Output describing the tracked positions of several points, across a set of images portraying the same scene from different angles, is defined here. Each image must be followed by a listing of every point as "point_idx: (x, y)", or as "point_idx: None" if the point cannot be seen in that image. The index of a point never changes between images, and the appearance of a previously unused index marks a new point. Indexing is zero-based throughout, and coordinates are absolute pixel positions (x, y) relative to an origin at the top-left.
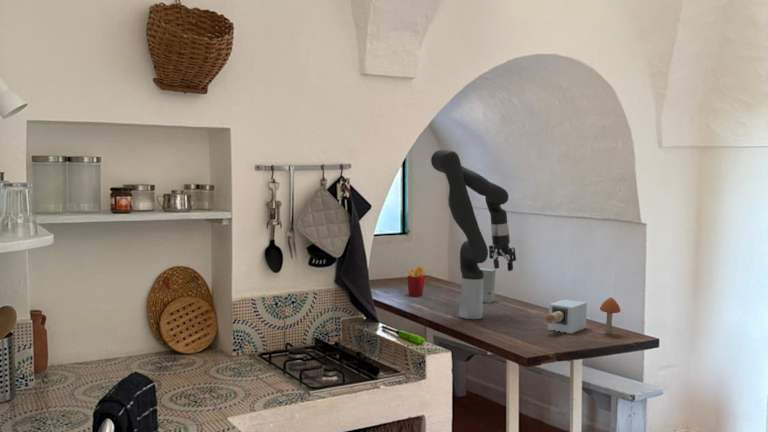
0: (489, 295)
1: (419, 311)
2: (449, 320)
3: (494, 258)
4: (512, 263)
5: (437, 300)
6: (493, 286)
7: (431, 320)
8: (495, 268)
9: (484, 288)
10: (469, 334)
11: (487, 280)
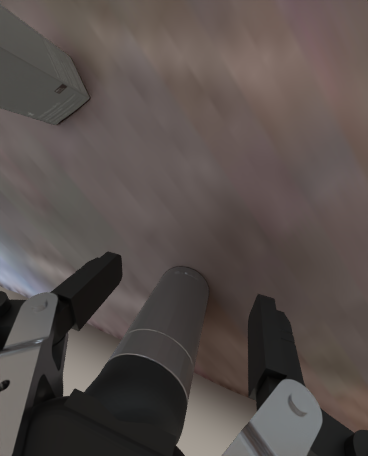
0: (68, 90)
1: None
2: None
3: (59, 355)
4: (300, 373)
5: (14, 191)
6: (28, 39)
7: None
8: (118, 279)
9: (34, 93)
10: None
11: (3, 70)
